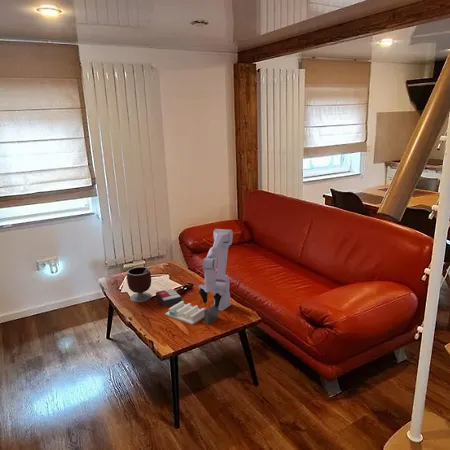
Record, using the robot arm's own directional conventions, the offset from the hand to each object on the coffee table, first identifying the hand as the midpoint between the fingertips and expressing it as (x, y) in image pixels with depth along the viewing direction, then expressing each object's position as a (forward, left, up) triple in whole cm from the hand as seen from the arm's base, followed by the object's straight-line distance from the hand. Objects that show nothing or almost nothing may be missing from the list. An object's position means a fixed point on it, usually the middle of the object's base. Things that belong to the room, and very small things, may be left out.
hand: (211, 304), depth 201 cm
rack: (+2, -15, -9) cm, 18 cm away
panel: (0, 0, -9) cm, 9 cm away
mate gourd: (+1, -51, -9) cm, 52 cm away
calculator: (-6, -36, -10) cm, 38 cm away
